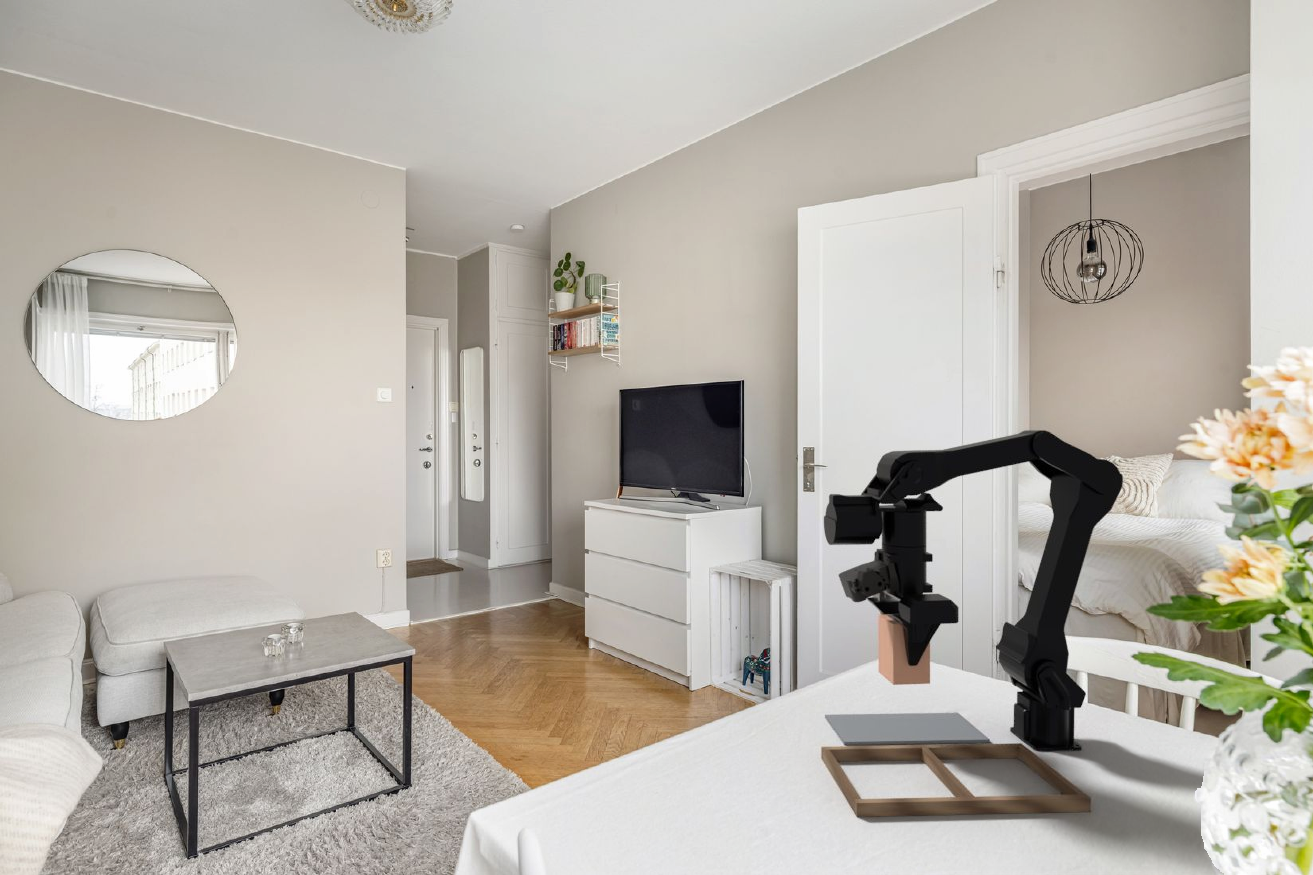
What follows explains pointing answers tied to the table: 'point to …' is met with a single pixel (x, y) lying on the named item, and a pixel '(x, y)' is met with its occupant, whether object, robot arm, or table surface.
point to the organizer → (953, 781)
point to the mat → (904, 728)
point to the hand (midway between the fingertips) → (904, 658)
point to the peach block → (899, 655)
